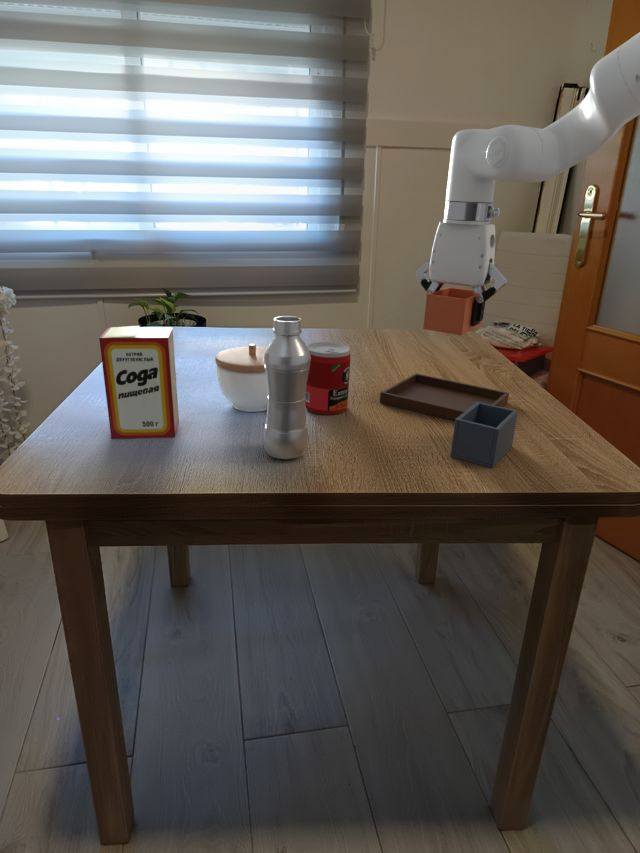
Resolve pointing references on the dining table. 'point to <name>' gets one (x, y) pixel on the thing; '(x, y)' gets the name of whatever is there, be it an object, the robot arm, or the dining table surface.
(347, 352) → the canned food
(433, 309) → the terracotta tub
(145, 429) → the baking soda box
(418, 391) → the tray
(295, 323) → the silver metal bottle
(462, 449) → the grey tub
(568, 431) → the dining table surface
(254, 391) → the lidded bowl
